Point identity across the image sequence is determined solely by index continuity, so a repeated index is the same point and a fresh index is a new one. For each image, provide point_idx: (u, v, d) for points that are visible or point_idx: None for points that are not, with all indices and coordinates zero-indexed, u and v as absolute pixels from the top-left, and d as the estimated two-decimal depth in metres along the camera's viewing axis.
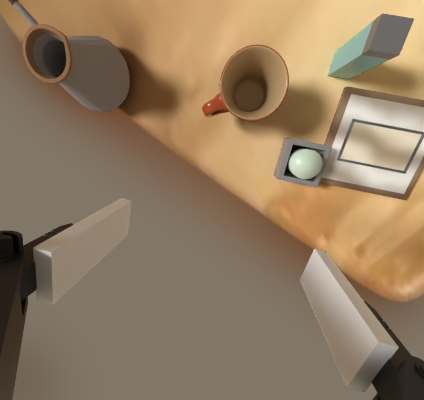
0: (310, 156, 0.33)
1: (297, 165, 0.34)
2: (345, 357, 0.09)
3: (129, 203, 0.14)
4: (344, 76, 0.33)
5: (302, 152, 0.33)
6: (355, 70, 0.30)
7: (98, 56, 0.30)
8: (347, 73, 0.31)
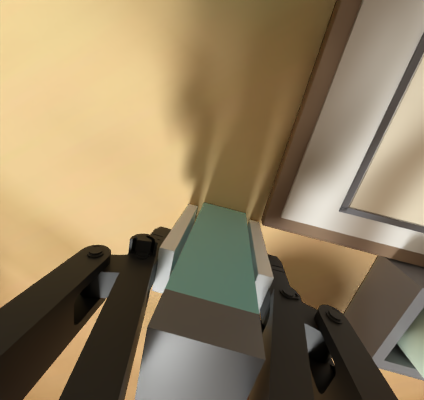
0: None
1: None
2: None
3: (196, 208, 0.16)
4: None
5: None
6: None
7: None
8: None
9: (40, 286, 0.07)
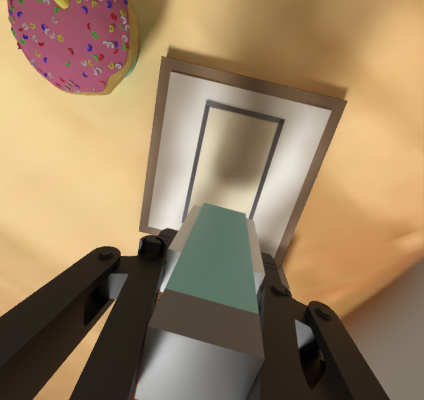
0: None
1: None
2: None
3: None
4: None
5: None
6: None
7: None
8: None
9: (52, 286, 0.07)
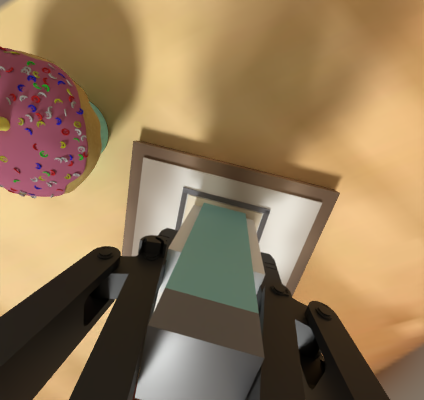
0: None
1: None
2: None
3: None
4: None
5: None
6: None
7: None
8: None
9: (51, 286, 0.07)
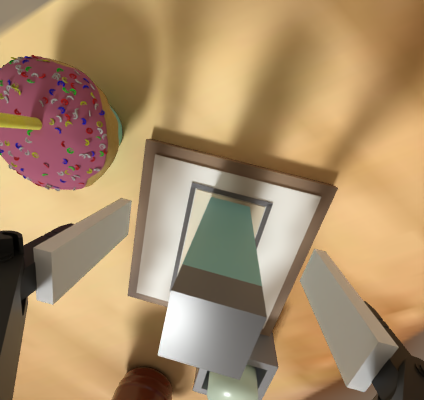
0: (217, 392, 0.19)
1: None
2: (345, 357, 0.09)
3: (129, 203, 0.14)
4: None
5: None
6: None
7: None
8: None
9: None
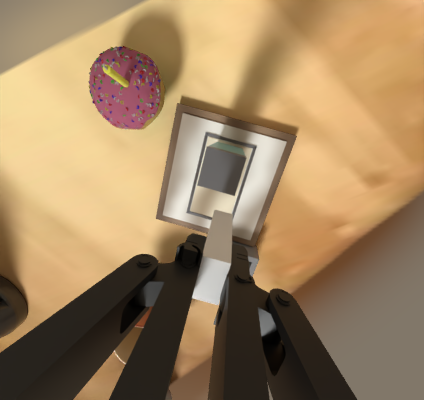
0: None
1: None
2: None
3: None
4: None
5: None
6: None
7: None
8: None
9: (95, 291, 0.07)
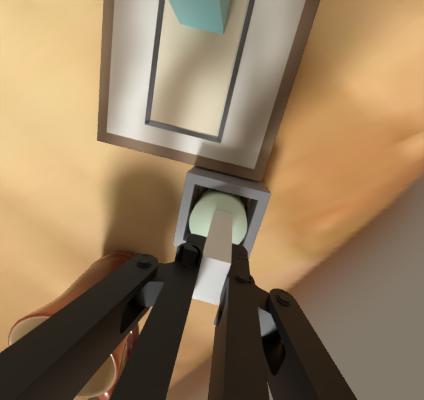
0: (201, 219, 0.17)
1: None
2: None
3: None
4: None
5: (194, 233, 0.17)
6: None
7: None
8: None
9: (95, 291, 0.07)
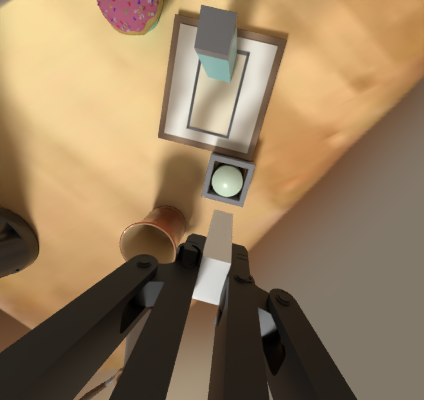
0: (218, 178, 0.32)
1: (227, 190, 0.32)
2: None
3: None
4: (234, 63, 0.29)
5: (214, 186, 0.32)
6: (234, 55, 0.25)
7: (136, 338, 0.40)
8: (233, 62, 0.27)
9: (95, 291, 0.07)
